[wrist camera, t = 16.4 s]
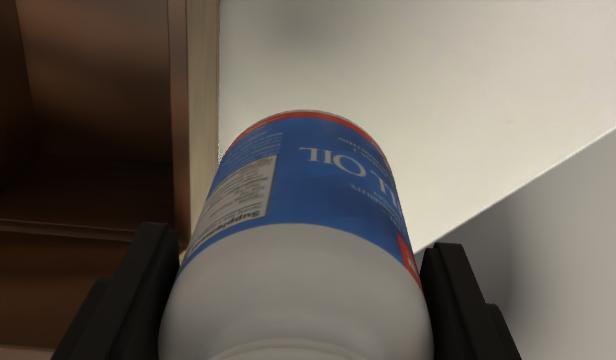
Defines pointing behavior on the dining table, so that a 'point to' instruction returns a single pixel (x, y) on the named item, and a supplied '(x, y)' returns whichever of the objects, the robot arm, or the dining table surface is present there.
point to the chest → (107, 115)
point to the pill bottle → (299, 253)
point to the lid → (48, 287)
